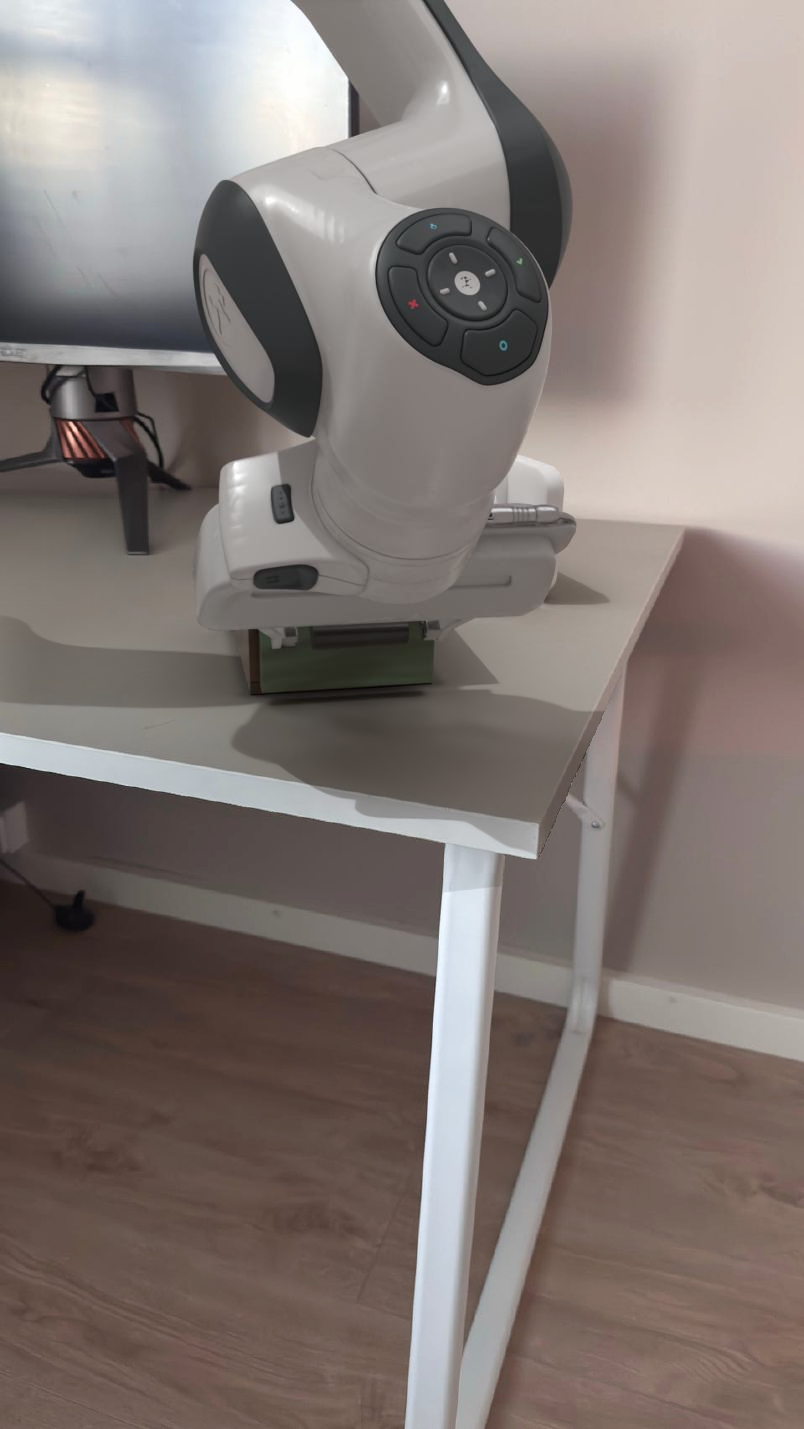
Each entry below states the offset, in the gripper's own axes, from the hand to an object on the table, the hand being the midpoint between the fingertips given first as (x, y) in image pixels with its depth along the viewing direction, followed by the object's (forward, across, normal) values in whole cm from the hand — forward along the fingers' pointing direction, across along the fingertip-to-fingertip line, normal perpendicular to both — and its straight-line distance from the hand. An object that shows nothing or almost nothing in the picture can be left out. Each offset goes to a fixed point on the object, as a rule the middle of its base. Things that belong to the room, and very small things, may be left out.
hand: (357, 634), depth 67 cm
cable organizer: (+24, -16, -16) cm, 33 cm away
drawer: (+9, 0, -2) cm, 9 cm away
